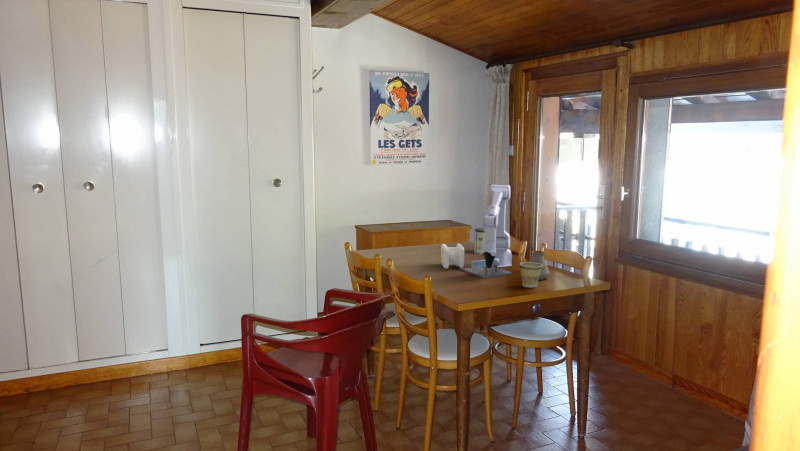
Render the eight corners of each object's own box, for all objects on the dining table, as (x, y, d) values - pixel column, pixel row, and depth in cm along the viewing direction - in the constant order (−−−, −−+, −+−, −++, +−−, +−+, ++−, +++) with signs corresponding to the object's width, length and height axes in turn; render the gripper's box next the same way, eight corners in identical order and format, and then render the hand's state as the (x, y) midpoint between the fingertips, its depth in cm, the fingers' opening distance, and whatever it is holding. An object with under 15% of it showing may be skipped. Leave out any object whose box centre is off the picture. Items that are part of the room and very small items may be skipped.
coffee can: (490, 251, 338) (490, 227, 336) (492, 254, 328) (493, 230, 326) (472, 250, 338) (473, 227, 336) (474, 254, 328) (475, 230, 326)
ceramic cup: (527, 289, 250) (528, 267, 249) (514, 284, 260) (515, 263, 258) (550, 286, 256) (551, 265, 254) (537, 281, 265) (538, 261, 263)
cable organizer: (464, 270, 287) (465, 248, 285) (443, 270, 286) (444, 248, 284) (459, 264, 301) (459, 242, 300) (439, 264, 301) (440, 242, 299)
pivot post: (495, 272, 283) (495, 264, 283) (497, 272, 282) (498, 265, 281) (492, 272, 282) (492, 265, 282) (494, 273, 281) (495, 266, 280)
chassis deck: (489, 267, 294) (490, 265, 294) (511, 274, 278) (511, 272, 278) (461, 270, 286) (461, 268, 286) (482, 278, 270) (482, 276, 270)
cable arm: (496, 263, 284) (496, 258, 283) (500, 265, 281) (500, 259, 280) (470, 266, 277) (470, 260, 276) (474, 268, 273) (474, 262, 273)
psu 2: (479, 271, 280) (479, 266, 280) (485, 273, 276) (485, 268, 276) (471, 272, 278) (471, 267, 278) (476, 274, 274) (477, 269, 273)
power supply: (489, 270, 283) (489, 265, 283) (495, 272, 279) (495, 267, 278) (480, 271, 281) (481, 265, 280) (486, 273, 276) (487, 267, 276)
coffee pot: (552, 280, 267) (554, 249, 265) (528, 280, 266) (530, 249, 264) (538, 270, 288) (540, 241, 286) (516, 270, 287) (518, 241, 285)
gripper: (477, 237, 277) (476, 264, 279) (486, 243, 263) (485, 271, 265) (491, 237, 278) (490, 264, 280) (500, 242, 263) (499, 270, 265)
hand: (488, 267), depth 272 cm, fingers closed
